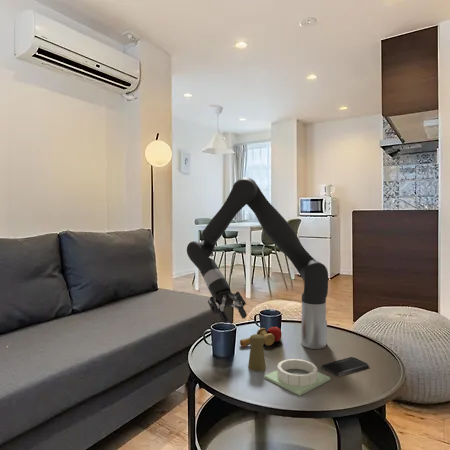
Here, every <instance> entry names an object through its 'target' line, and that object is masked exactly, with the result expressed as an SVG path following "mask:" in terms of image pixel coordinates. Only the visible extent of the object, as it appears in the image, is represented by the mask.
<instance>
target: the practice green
mask: <svg viewBox="0 0 450 450" xmlns="http://www.w3.org/2000/svg"><path fill="white" fill-rule="evenodd" d="M276 368H277V370H274V371H272V372H269V373H267V374H265V375H264V377H263V378H264V379H265V380H268V381H269V382H272V383H273V384H276V385H278V386H279V387H282V388H283V389H285V390H287V391H289V392H291V393H292V394H295V395H297V396H302V395H304V394H306V393H307V392H309V391H311V390H314V389H315V388H317V387H319V386H321V385H323V384H325V383H326V382H328V381H331V376H328V375H327V374H323V373H321V372H318V367H317V365H315V364H314V363H313V362H311V361H308V360H305V359H301V358H299V359H298V358H290V359H284V360H282V361H279V362H278V364H277V366H276Z"/></svg>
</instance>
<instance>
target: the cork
mask: <svg viewBox="0 0 450 450" xmlns="http://www.w3.org/2000/svg"><path fill="white" fill-rule="evenodd" d="M248 338H249V343H250V345H249V346H250V350H249V357H248V364H247V368H248V369H249V370H250V371H252V372H263V371H265V370H266V368H267V366H266V358H265V352H264V345H265V344H264V342H265V340H264V337H263V336H262V335H259V334H257V333H256V334H255V333H254V334H252V335H250V336H249V337H248Z"/></svg>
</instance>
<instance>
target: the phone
mask: <svg viewBox="0 0 450 450" xmlns="http://www.w3.org/2000/svg"><path fill="white" fill-rule="evenodd" d="M369 367H370V364H369V363H367V362H365V361H363V360H360V359H358V358H357V357H354V356H350V357H346V358H342V359H338V360H334V361H331V362H327V363H323V364H321V369H322V370H324V371H326V372H328V373H329V374H331V375H333V376H335V377H343V376H345V375H348V374H351V373H355V372H359V371H362V370H366V369H369Z"/></svg>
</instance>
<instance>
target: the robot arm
mask: <svg viewBox="0 0 450 450" xmlns="http://www.w3.org/2000/svg"><path fill="white" fill-rule="evenodd" d="M245 206H247V207H248V208H249V209H250V210H251V211H252V212H253V214H254V215H255V216H256V219H257V221H258V222H259V224H260V226H261V228H262V229H263V231H264V233H265V234H266V236H267V237H268V238H269V239H270V240H271V242H273V244H274V245H275V246H276V247H277V248H278V249H279V251H281V252H282V253H283V254H284V255H285V256H286V257H287V258H288V259H289V260H290V262H291V263H292V265H293V266H294V268H295V270H297V272H298V274H299V275H300V277H301V279H303V283H304V284H303V285H304V286H303V292H302V294H301V345H302V346H303V347H305V348H307V349H312V350H313V349H314V350H319V349H324V348H326V345H327V344H328V342H327V341H328V338H327V337H328V321H327V313H326V311H327V296H328V294H329V293H328V291H329V273H328V272H329V271H328V268H327V267H326V266H325V264H324V263H322V262H320V261H318V260H316V259H315V258H314V257H312V255H311V254H310V253H309V252H308V251H307V250H306V248H304V245H302V243H301V240H300V239H299V236H298V235H297V234H296V232H295V230H294V229H293V227H292V225H290V224H289V222H288V221H287V220H286V219H285V218H284V216H283V215H281V213H280V212H279V211H278V210H277V209H276V208H275V207H274V206H273V205H272V203H271V202H270V201H268V199H267V198H266V196H265V195H264V194H263V192H262V190H261V188H260V187H259V185H258V184H257V183H256V181H255V180H254V179H253V178H251V177H248V176H244V177H240V178H239V179H237V180H236V181H235V182H234V183H233V185H232V188H231V191H230V192H229V195H227V198H226V200H225V201H224V203H223V205H222V206H221V208H220V209H219V210H218V211H217V213H216V214H215V215H214V216H213V217H212V219H211V220H210V221H209V222H208V224H207V225H206V226H205V228H203V230H202V232H201V238H202V239H203V241H202V242H201V241H190V242H189V243H188V244H187V246H186V253H187V256H188V258H189V260H190V261H191V262H192V263H193V264H194V266H195V267H196V268H197V269H198V271H199V273H200V274H201V276H202V277H203V279H204V283H205V285H206V287H207V289H208V291H209V293H210V295H211V296H210V297H209V299H208V300H207V303H208V305H209V308H210V310H211V312H212V314H213V315H216V314H217V315H218V316H219V317H220V320H221V321H222V322H223V323H224V324H227V323H228V322H229V321H230V320H229V317H228V316H227V314H226V312H225V310H224V308H227V307H228V308H229V307H231V308H235V309H236V310H238V313H239V315H240V316H241V319H242V320H243V319H246V317H247V315H248V314H247V312H246V310H245V309H244V307H245V306H246V305H247V303H246V301H245V300H244V299H243V296H242V295H241V294H240V291H236V292H234V293H233V292H232V291H231V287H230V284H229V283H228V281H227V280H226V278H225V276H224V274H223V273H222V271H221V270H220V268H219V266H218V265H217V263H216V261H215V260H214V259H213V258H210V256H212V254H213V252H214V250H215V247H216V245H217V242H218V241H219V239H220V238H221V236H223V234H224V233H225V232H226V230H227V229H228V227H229V226H230V224H231V222H232V221H233V219H234V218H235V217H236V215H238V213H239V212H240V211H241V210H242V209H243V208H244V207H245Z"/></svg>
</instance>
